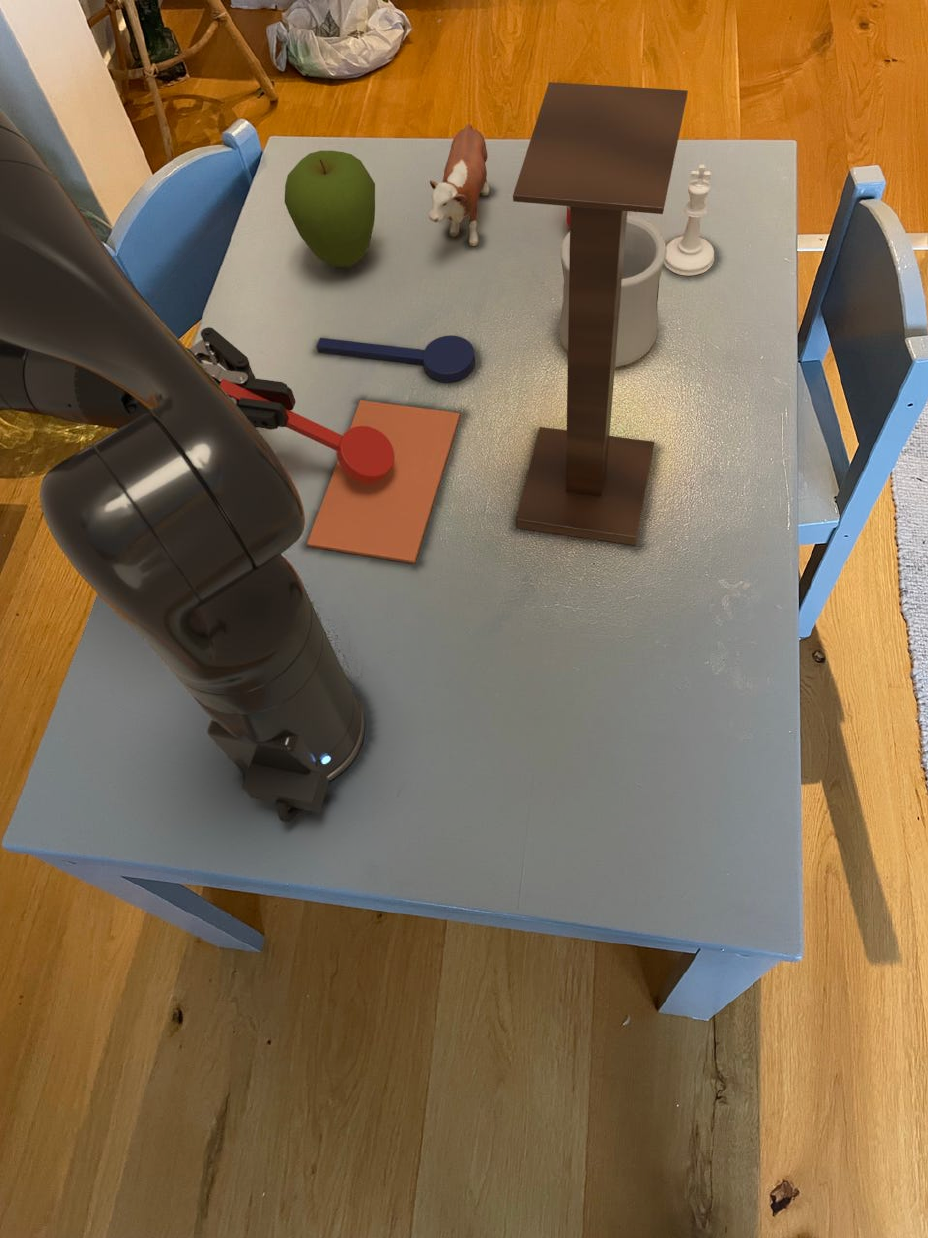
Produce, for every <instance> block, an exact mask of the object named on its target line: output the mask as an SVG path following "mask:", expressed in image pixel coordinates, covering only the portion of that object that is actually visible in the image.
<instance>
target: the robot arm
mask: <svg viewBox="0 0 928 1238" xmlns="http://www.w3.org/2000/svg"><path fill="white" fill-rule="evenodd" d="M200 337H201V338H202V339H201V340H200V341H198V342H197V343H195V344H194V345H192V346H191V347H186V346H185V345H184V343H183V342H182V341H181V340H180V339H179V338H178V336H177V335H176V334H175V333H174V332H173V331H172V330H171V329H170V327H168V325H167V324H166V323H165V322H164V321H163V319H162V318H161V317H160V316H159V315H158V313H156V311H155V310H154V308H152V306H151V305H150V304H149V303H148V301H147V300H146V299H145V298H144V297H143V295H142V294H141V293H140V292H139V291H138V290H137V288H136V287H135V285H134V284H133V283H132V282H131V280H130V279H129V278H128V276H127V275H126V273H125V272H124V271H123V269H122V268H121V267H120V264H118V262H117V261H116V260H115V258H114V257H113V255H112V253H110V251H109V249H108V248H107V247H106V246H105V244H104V242H103V241H102V240H101V239H100V237H99V235H98V234H97V233H96V231H95V230H94V228H93V227H92V226H91V224H90V223H89V221H88V220H87V218H86V217H85V215H84V214H83V213H82V211H81V210H80V208H79V207H78V205H77V204H76V203H75V201H74V200H73V198H72V197H71V196H70V194H69V193H68V192H67V190H66V189H65V187H64V186H63V185H62V184H61V182H60V181H59V180H58V178H57V177H56V176H55V174H54V173H53V172H52V171H51V169H50V168H49V166H48V165H47V164H46V162H45V161H44V160H43V159H42V157H41V156H40V155H39V153H38V152H37V150H36V149H35V148H34V146H33V145H32V144H31V143H30V142H29V140H27V138H26V137H25V136H24V134H22V132H21V131H20V130H19V129H18V128H17V126H16V125H15V123H13V122H12V121H11V119H10V118H9V117H8V115H7V114H6V113H5V112H4V111H3V110H2V108H1V107H0V412H1V411H14V412H15V411H16V412H22V413H26V414H27V413H28V414H34V415H42V416H49V417H52V418H55V419H59V420H62V421H65V422H70V423H71V422H72V423H77V424H81V425H82V424H83V425H90V426H97V427H104V428H109V429H115V430H114V431H112V432H110V433H108V434H107V435H105V436H103V437H101V438H100V439H98V440H96V441H94V442H93V443H91V444H89V445H88V446H86V447H85V448H83V449H81V450H80V451H78V452H76V453H74V454H72V455H71V456H69V457H68V458H66V459H64V460H62V461H61V462H59V463H58V464H56V465H55V466H53V467H52V468H51V469H50V470H48V471H47V472H46V474H45V475H44V476H43V478H42V480H41V483H40V488H39V501H40V507H41V511H42V514H43V517H44V518H43V519H44V520H45V523H46V525H47V527H48V530H49V531H50V534H51V536H52V537H53V539H54V541H55V542H56V544H57V546H58V547H59V549H60V550H61V552H62V553H63V554H64V556H65V557H66V559H68V561H69V562H70V564H71V565H72V567H73V568H74V569H75V570H76V572H77V573H78V574H79V575H80V577H81V578H82V579H83V580H84V581H85V582H86V583H87V584H88V586H89V587H90V588H92V590H94V591H95V593H96V594H97V595H98V596H99V597H100V598H101V599H102V600H103V602H105V603H106V604H107V605H108V606H109V607H110V608H111V609H112V610H113V612H115V613H116V614H117V615H118V616H119V617H121V618H122V620H124V621H125V623H127V624H128V625H129V626H130V627H131V628H132V629H133V630H134V631H136V632H137V634H138V635H139V636H141V638H142V639H143V640H144V641H145V642H146V643H148V645H149V646H150V647H151V649H152V650H153V651H154V652H155V653H156V655H158V657H159V658H160V659H161V661H162V662H163V663H164V665H165V666H166V667H167V669H169V671H170V672H171V673H172V674H173V675H174V676H175V677H176V678H177V679H178V680H179V682H180V683H181V684H182V686H183V687H184V688H185V689H186V690H187V691H188V693H190V695H191V696H192V697H193V699H194V700H195V702H197V703H198V704H199V705H200V707H201V708H202V709H203V710H204V711H205V713H206V714H207V715H208V717H210V722H209V725H208V726H207V729H206V734H207V735H208V736H209V738H211V740H212V741H213V742H214V743H215V745H217V746H218V748H219V749H220V750H221V752H223V753H224V754H225V755H226V756H227V758H229V760H230V761H231V762H232V763H233V764H234V765H235V766H236V767H237V769H238V770H239V771H240V772H241V773H242V774H243V775H244V776H245V778H244V780H243V783H242V786H241V789H242V790H243V791H244V792H245V793H246V794H247V795H248V796H249V797H250V799H253V800H258V801H262V802H263V801H264V802H267V803H272V804H275V805H276V812H277V816H278V819H279V820H280V821H281V822H284V823H289V822H290V823H291V822H292V821H294V820H295V819H296V818H297V817H298V815H299V814H300V813H301V812H302V811H303V810H304V811H308V812H313V813H318V814H319V813H321V809H322V806H323V804H324V800H325V797H326V795H327V790H328V788H329V784H330V781H333V779H335V778H337V777H338V776H339V775H341V774H342V773H343V772H344V771H345V770H346V769H347V768H348V767H349V766H350V765H351V764H352V762H353V761H354V760H355V758H356V757H357V755H358V753H359V751H360V749H361V747H362V744H363V742H364V737H365V730H366V720H365V713H364V709H363V707H362V703H361V702H360V699H359V697H358V695H357V694H356V692H355V691H354V689H353V688H352V686H351V683H350V680H349V679H348V677H347V675H346V673H345V671H344V668H343V667H342V665H341V662H340V660H339V658H338V657H337V654H336V652H335V649H334V647H333V646H332V643H331V642H330V639H329V636H328V635H327V632H326V631H325V628H324V627H323V624H322V622H321V620H320V617H319V615H318V613H317V611H316V609H315V607H314V605H313V602H312V601H311V598H310V596H309V594H308V592H307V590H306V587H305V585H304V582H303V581H302V578H301V577H300V575H299V573H298V572H297V571H296V569H295V567H294V566H293V565H292V564H291V563H290V562H289V561H288V559H287V558H285V557H284V556H283V555H282V554H284V553H285V552H286V551H287V550H289V549H290V548H291V547H292V546H293V545H294V544H296V543H297V542H298V541H299V539H300V538H301V537H302V535H303V533H304V531H305V525H306V515H305V510H304V505H303V502H302V499H301V496H300V494H299V492H298V489H297V487H296V485H295V483H294V481H293V479H292V478H291V476H290V474H289V473H288V471H287V469H286V467H285V466H284V465H283V463H282V462H281V460H280V458H279V457H278V455H277V454H276V452H275V451H274V450H273V449H272V446H271V445H270V444H269V443H268V441H267V440H266V439H265V437H264V436H263V435H262V434H261V433H260V431H259V430H258V429H266V430H277V429H278V428H286V427H285V426H286V425H287V422H288V420H289V417H288V414H287V412H286V409H288V410H290V411H293V410H294V407H295V405H296V398H295V395H294V392H293V390H292V389H291V387H289V386H288V384H287V383H285V382H283V381H278V380H270V379H262V378H256V375H255V373H254V372H253V369H252V366H251V364H250V360H249V358H248V356H246V355H245V354H244V353H243V352H241V350H239V349H238V348H237V347H236V346H235V345H234V344H232V343H231V342H230V341H229V340H228V339H227V338H225V337H224V336H223V335H222V334H220V333H219V332H218V331H217V330H216V329H214V328H213V327H210V326H209V327H205V328H202V330H201V332H200ZM203 361H206V362H208V363H204V362H203ZM222 379H225V380H227V381H229V382H231V383H233V384H235V385H238V386H240V387H242V388H244V389H246V390H248V391H250V392H252V393H254V394H256V395H258V396H260V397H262V398H264V399H267V400H269V401H271V402H269V401H262V400H255V399H247V398H240V400H239V402H237V401H236V399H235V398H232V397H229V396H228V395H227V393H226V392H225V391H224V390H223V389H222V388H221V387H220V383H221V381H222ZM257 428H258V429H257ZM288 807H290V808H289V809H288Z"/></svg>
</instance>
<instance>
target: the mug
mask: <svg viewBox="0 0 928 1238" xmlns="http://www.w3.org/2000/svg"><path fill="white" fill-rule="evenodd" d="M666 246H667V242H666V240H665V238H664V237H663V234H662V232H661V231H660V230H658V228H657V227H656V226H655V225H653V224H652V223H650V222H648V221H646V220H645V219H643V218H641V217H638V216H634V215H631V214H627V222H626V234H625V247H624V260H623V272H622V285H621V297H620V310H619V322H618V335H617V347H616V360H615V368H618V367H621V366H626V365H629V364H630V365H631V364H632V363H634V362H635V361H638V360H640V359H641V358H643V356H644V355H646V354H647V353H648V352H650V350H651V348H652V347H653V345H654V344H655V342H656V339H657V335H658V331H659V313H658V299H659V291H660V290H659V289H660V279H661V277H662V272H663V268H664V266H665V264H664V261H665V257H666V253H667V250H666ZM569 257H570V231H569V232H568V233H567V234H566V236H565V237H564V238H563V241H562V243H561V246H560V261H561V269H562V276H563V295H562V296H563V297H562V304H561V311H560V315H559V323H558V324H559V325H558V329H559V331H558V332H559V338H560V341H561V343H562V345H563V348H564V349H565V350H566V352H568V316H569Z"/></svg>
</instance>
